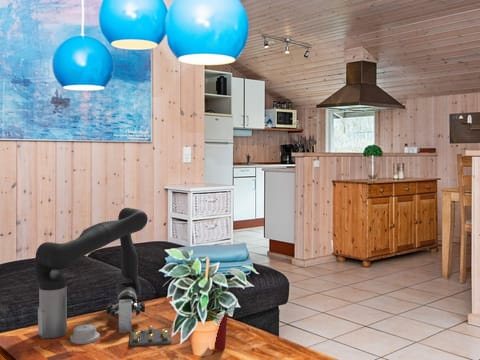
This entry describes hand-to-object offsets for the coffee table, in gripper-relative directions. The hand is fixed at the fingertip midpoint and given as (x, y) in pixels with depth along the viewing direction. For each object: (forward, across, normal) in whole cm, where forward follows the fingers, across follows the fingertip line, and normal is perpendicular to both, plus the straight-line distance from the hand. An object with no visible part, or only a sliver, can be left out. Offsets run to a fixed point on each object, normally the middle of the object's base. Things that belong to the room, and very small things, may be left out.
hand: (125, 313), depth 187 cm
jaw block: (+1, 0, +6) cm, 6 cm away
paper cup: (+23, +31, +6) cm, 39 cm away
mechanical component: (+7, -14, +6) cm, 17 cm away
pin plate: (+11, +9, +6) cm, 16 cm away
